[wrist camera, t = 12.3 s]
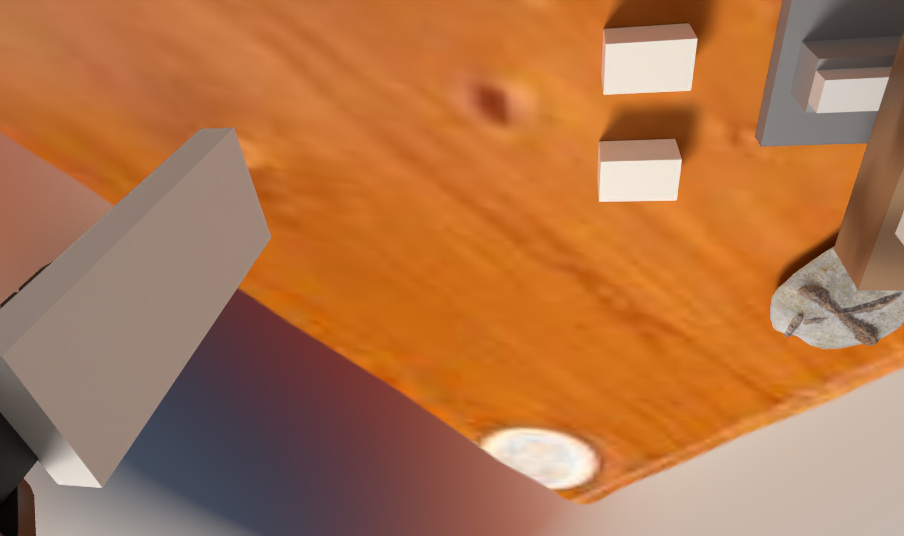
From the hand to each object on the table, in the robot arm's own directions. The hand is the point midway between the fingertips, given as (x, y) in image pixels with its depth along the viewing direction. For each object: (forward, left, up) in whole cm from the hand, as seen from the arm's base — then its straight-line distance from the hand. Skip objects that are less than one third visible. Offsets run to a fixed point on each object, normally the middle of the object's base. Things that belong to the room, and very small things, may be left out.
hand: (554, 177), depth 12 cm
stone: (+25, +21, -29) cm, 44 cm away
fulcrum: (+8, +19, -29) cm, 35 cm away
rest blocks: (+11, +5, -29) cm, 31 cm away
